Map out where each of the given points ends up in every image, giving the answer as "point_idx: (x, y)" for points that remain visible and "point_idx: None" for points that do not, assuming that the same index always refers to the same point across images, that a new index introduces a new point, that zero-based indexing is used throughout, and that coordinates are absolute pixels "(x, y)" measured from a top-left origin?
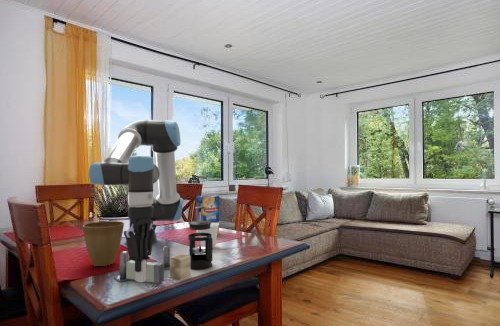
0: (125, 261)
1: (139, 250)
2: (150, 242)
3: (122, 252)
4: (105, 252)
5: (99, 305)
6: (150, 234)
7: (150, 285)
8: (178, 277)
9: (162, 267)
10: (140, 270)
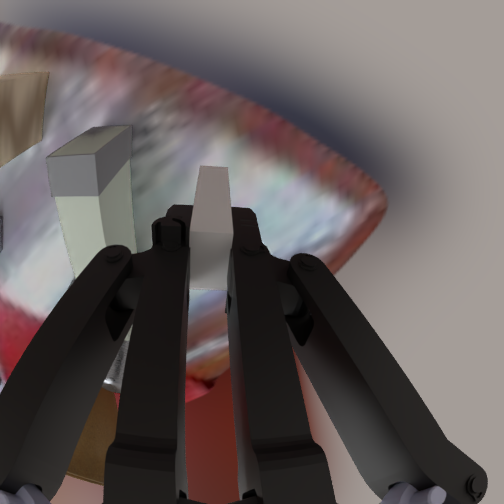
0: (125, 346)
1: (281, 324)
2: (71, 349)
3: (117, 388)
4: (95, 407)
5: (364, 234)
6: (37, 440)
7: (147, 162)
8: (41, 89)
9: (70, 147)
10: (234, 210)
